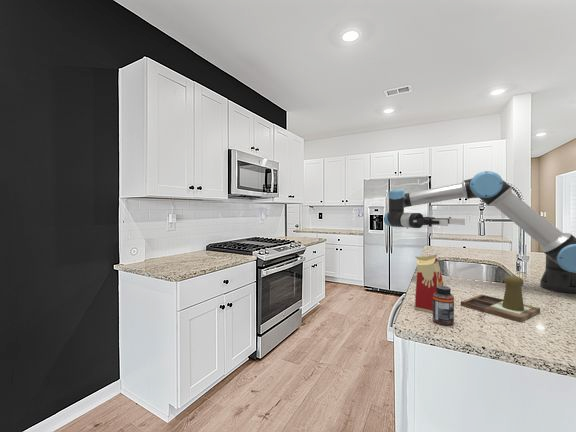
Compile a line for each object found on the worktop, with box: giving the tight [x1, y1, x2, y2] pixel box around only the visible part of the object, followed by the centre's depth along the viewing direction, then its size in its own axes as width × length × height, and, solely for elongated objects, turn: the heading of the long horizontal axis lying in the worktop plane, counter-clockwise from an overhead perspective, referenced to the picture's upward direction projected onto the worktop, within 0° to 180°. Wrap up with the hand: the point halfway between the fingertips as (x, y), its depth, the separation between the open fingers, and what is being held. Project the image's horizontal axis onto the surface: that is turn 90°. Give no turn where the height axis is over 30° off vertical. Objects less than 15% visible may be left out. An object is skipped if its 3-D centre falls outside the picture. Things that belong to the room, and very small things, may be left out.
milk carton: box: [414, 253, 445, 314], centre depth 104 cm, size 9×9×20 cm
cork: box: [502, 275, 525, 311], centre depth 100 cm, size 6×6×11 cm
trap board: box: [460, 294, 541, 323], centre depth 104 cm, size 16×18×2 cm
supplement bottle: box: [432, 285, 455, 326], centre depth 92 cm, size 6×6×11 cm
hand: (456, 222), depth 126 cm, fingers open, 13 cm apart
